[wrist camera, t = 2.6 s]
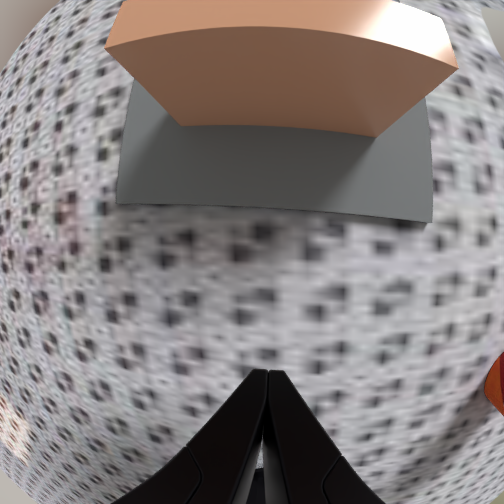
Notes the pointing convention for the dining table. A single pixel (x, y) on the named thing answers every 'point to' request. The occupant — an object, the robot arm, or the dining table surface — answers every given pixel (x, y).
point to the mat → (276, 165)
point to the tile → (283, 60)
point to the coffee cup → (496, 384)
